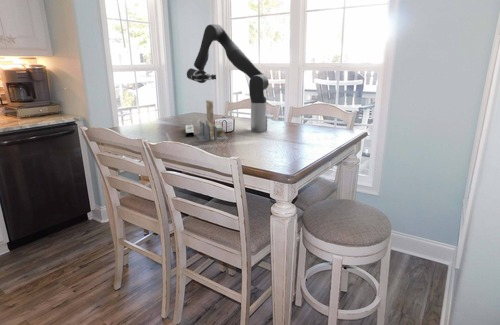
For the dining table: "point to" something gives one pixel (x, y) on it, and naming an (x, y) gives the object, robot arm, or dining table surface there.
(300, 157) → the dining table surface
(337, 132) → the dining table surface
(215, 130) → the rack
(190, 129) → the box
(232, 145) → the dining table surface
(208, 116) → the brown wooden board
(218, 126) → the offcut
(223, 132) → the offcut
